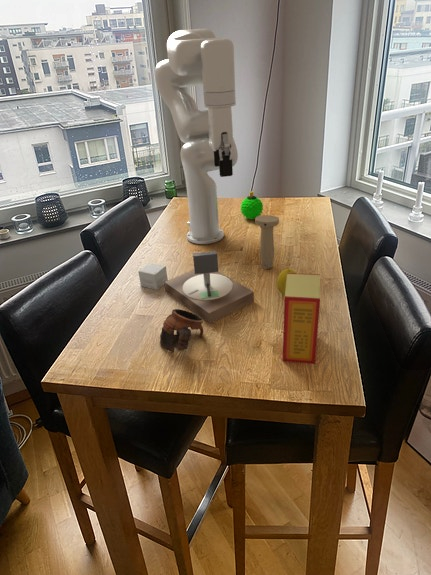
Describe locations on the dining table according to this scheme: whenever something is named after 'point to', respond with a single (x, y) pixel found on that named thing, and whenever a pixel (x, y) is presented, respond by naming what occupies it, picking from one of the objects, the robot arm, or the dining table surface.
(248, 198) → the ornament
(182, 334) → the broken clay pot
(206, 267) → the grey block with rod
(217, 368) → the dining table surface
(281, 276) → the lemon
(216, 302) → the board
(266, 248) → the handle
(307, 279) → the baking soda box
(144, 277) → the small box
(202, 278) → the dial
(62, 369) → the dining table surface
